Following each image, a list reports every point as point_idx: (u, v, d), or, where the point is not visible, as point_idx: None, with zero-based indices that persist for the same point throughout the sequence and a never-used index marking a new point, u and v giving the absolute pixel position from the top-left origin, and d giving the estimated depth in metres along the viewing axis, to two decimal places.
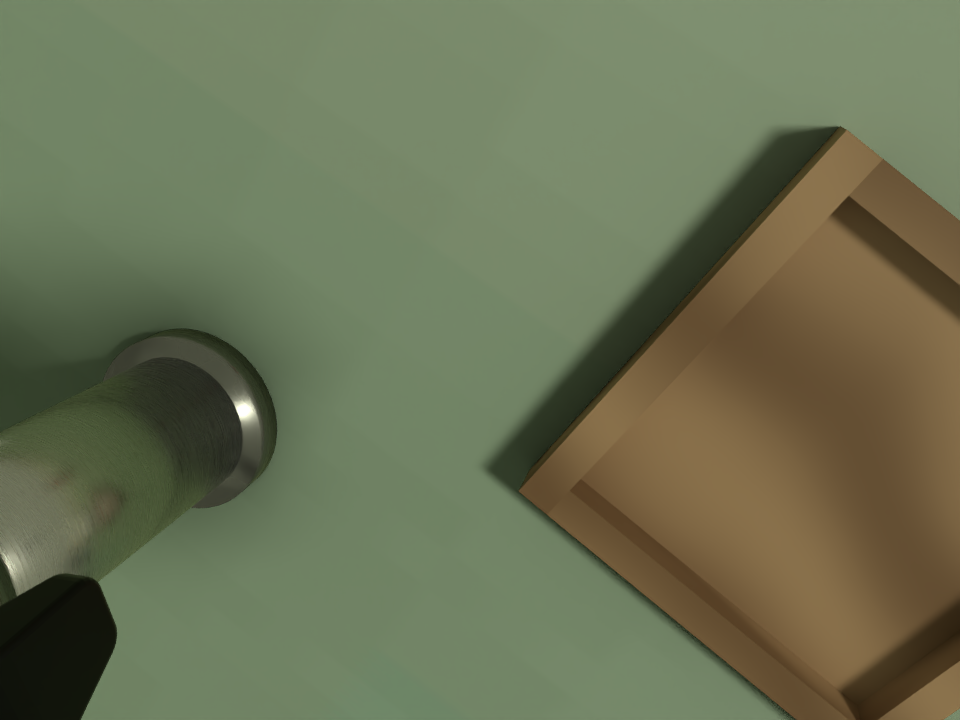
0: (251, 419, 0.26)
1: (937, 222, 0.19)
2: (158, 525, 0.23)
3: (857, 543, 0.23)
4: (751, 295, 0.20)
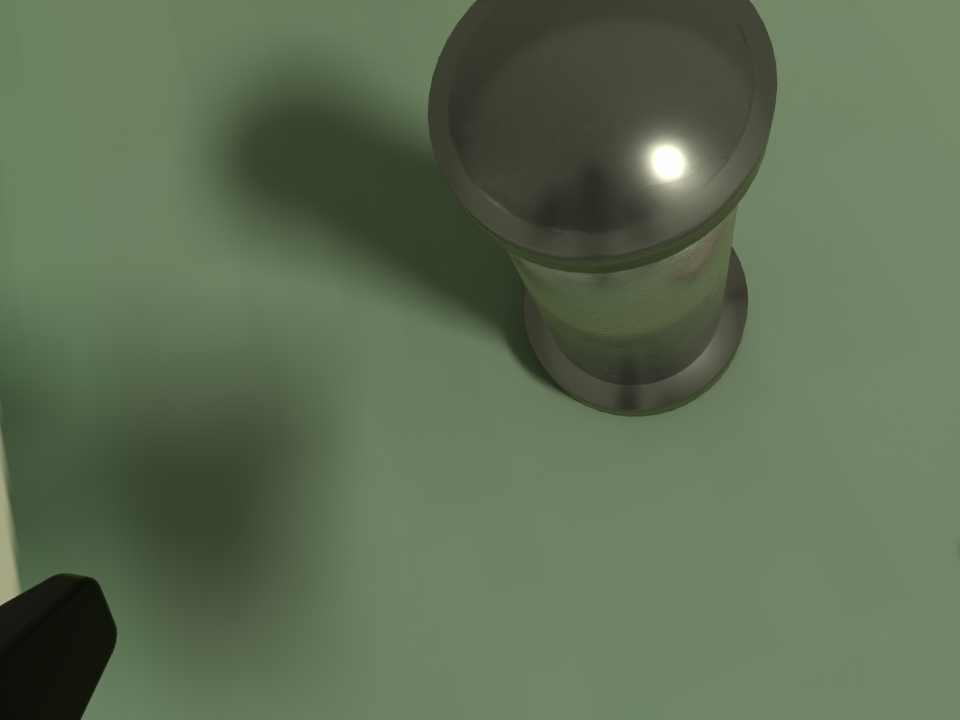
0: (731, 337, 0.21)
1: None
2: (674, 330, 0.18)
3: None
4: None
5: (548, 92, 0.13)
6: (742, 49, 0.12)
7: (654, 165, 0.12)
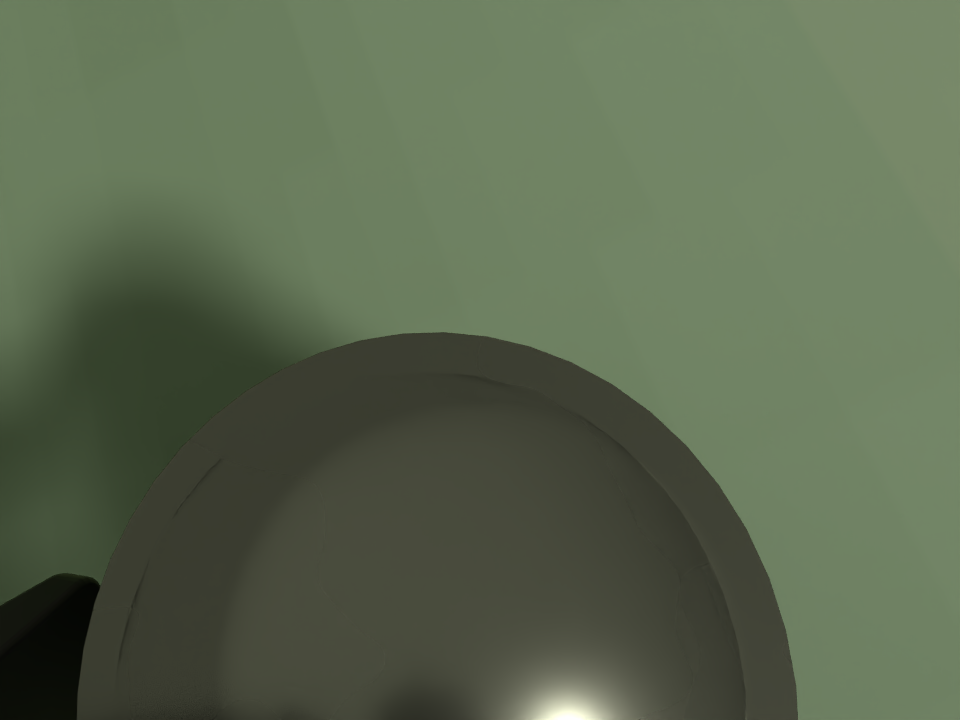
0: None
1: None
2: None
3: None
4: None
5: (311, 677, 0.06)
6: (721, 637, 0.06)
7: None
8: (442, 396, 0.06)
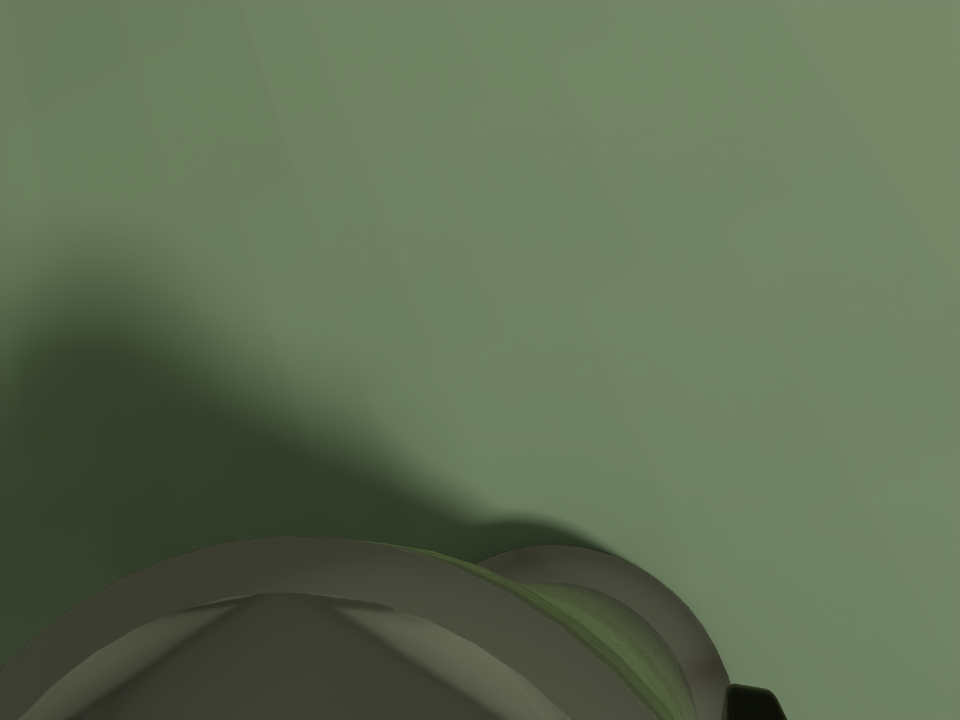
0: None
1: None
2: None
3: None
4: None
5: None
6: None
7: None
8: (328, 629, 0.05)
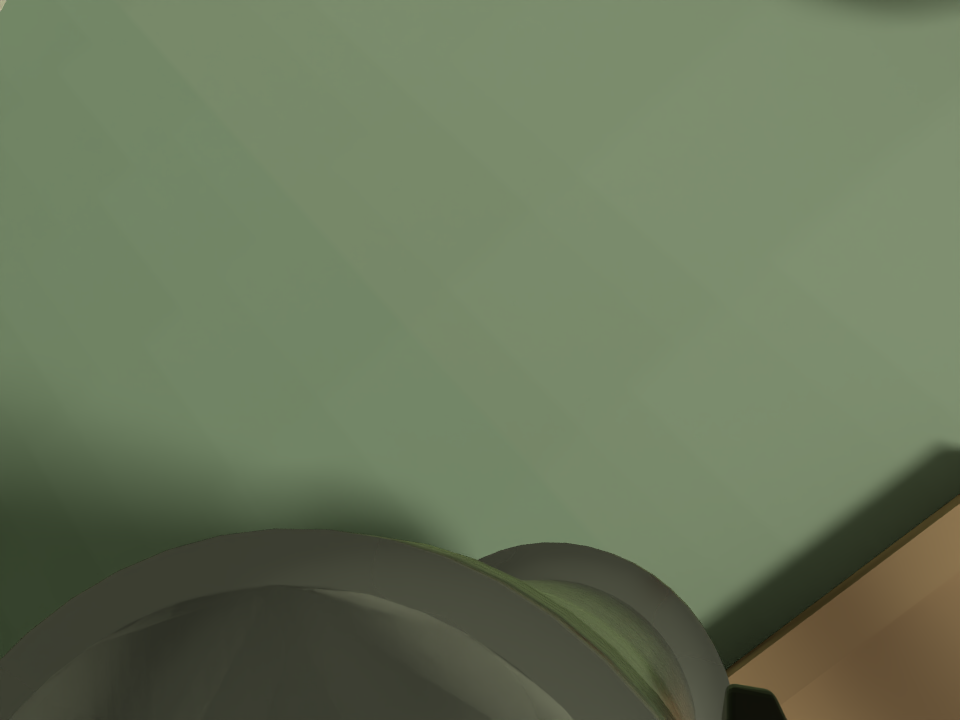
0: None
1: None
2: None
3: None
4: (911, 604, 0.18)
5: None
6: None
7: None
8: (324, 622, 0.05)
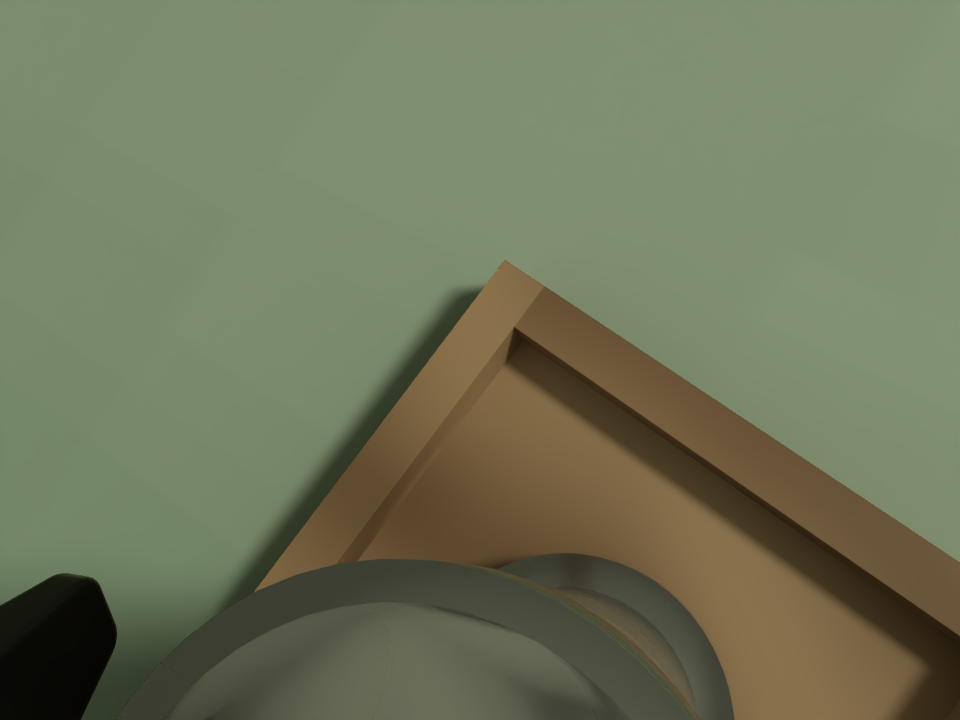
0: None
1: (610, 348, 0.16)
2: None
3: None
4: (418, 448, 0.17)
5: None
6: None
7: None
8: (423, 631, 0.06)
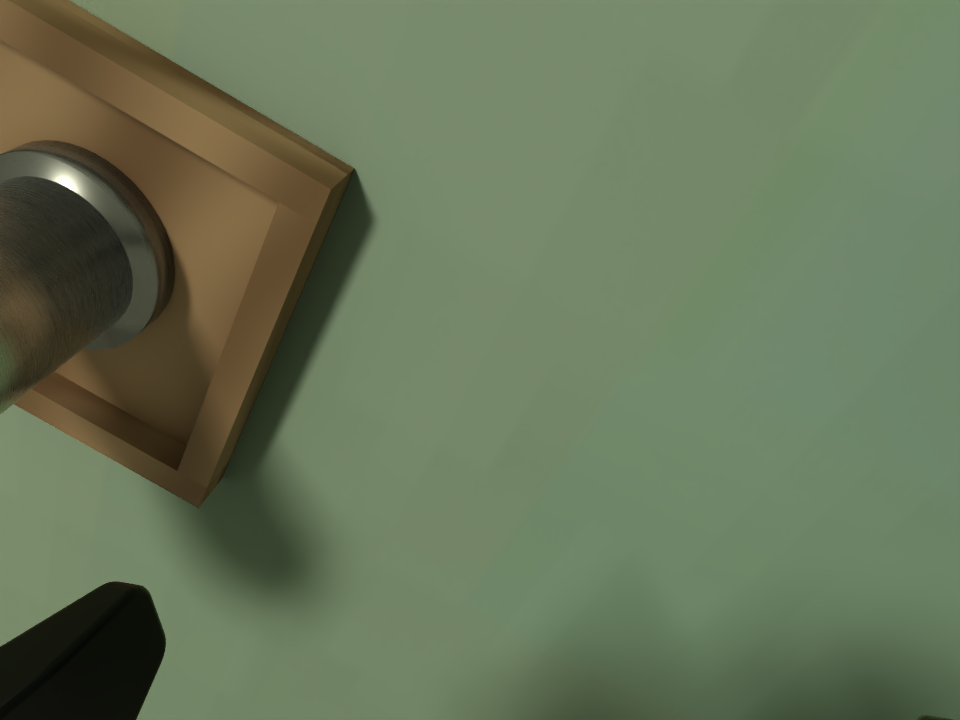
0: (52, 166, 0.21)
1: None
2: None
3: None
4: None
5: None
6: None
7: None
8: None
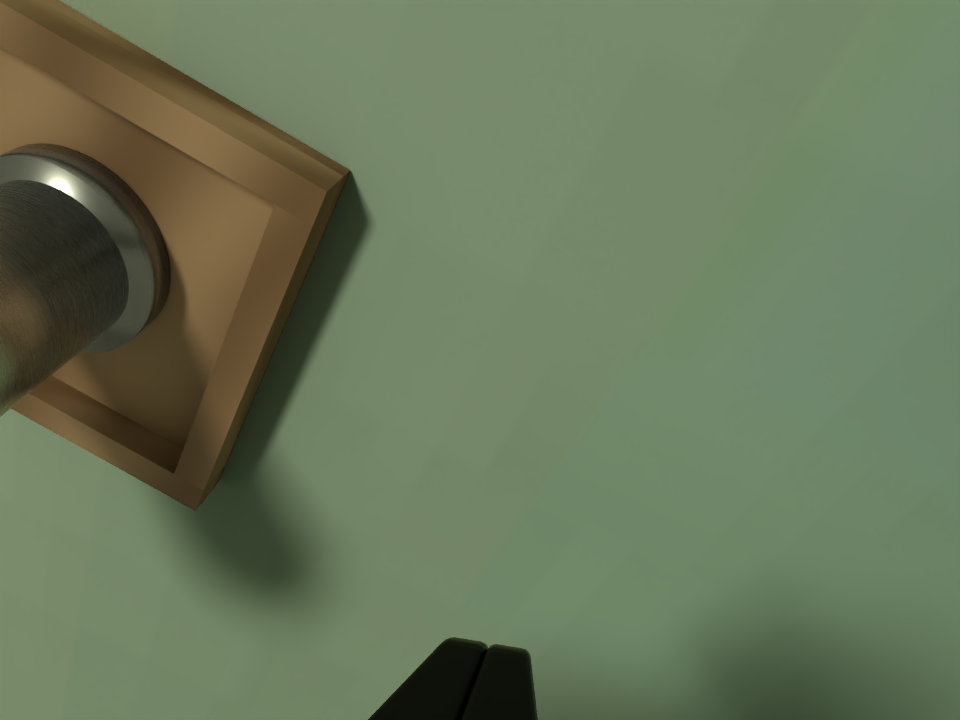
0: (47, 170, 0.21)
1: None
2: None
3: None
4: None
5: None
6: None
7: None
8: None
